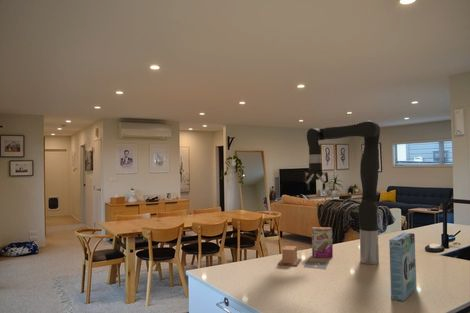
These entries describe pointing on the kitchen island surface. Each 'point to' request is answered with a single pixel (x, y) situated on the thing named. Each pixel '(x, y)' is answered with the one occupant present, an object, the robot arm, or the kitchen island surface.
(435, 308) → the kitchen island surface
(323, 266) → the tile
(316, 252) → the candy bar box
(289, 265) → the walnut board
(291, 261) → the terracotta block
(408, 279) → the gum box
